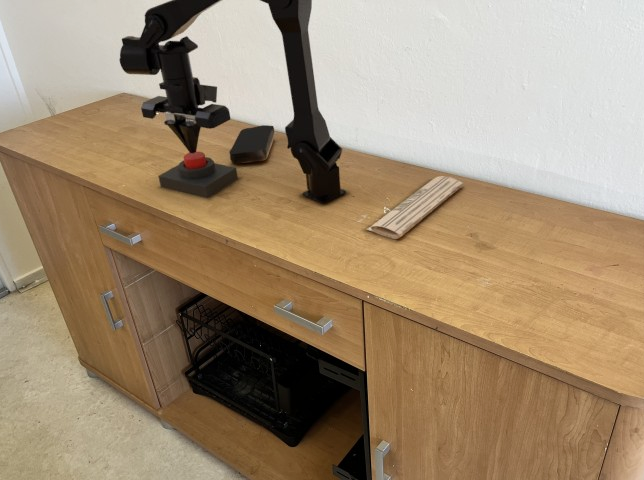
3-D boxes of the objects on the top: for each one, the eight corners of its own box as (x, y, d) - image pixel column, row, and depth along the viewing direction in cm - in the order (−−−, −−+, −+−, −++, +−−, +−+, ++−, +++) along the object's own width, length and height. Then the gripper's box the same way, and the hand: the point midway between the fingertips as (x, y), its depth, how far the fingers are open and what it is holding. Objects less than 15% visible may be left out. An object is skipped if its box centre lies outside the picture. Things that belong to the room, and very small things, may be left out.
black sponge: (267, 165, 137) (264, 150, 134) (229, 167, 137) (226, 151, 135) (276, 138, 150) (275, 123, 148) (242, 139, 150) (240, 125, 148)
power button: (210, 162, 129) (209, 153, 128) (197, 171, 126) (195, 161, 125) (195, 159, 131) (193, 150, 130) (181, 167, 128) (178, 157, 127)
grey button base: (238, 179, 132) (235, 159, 129) (208, 198, 125) (203, 178, 122) (192, 169, 138) (188, 150, 135) (161, 187, 131) (156, 167, 128)
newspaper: (399, 240, 107) (399, 231, 106) (366, 230, 111) (365, 221, 110) (462, 188, 122) (463, 180, 121) (431, 181, 125) (431, 172, 124)
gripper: (241, 68, 119) (252, 145, 129) (170, 60, 128) (185, 133, 137) (204, 84, 112) (218, 165, 121) (130, 75, 120) (149, 151, 129)
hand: (193, 152), depth 127 cm, fingers closed
